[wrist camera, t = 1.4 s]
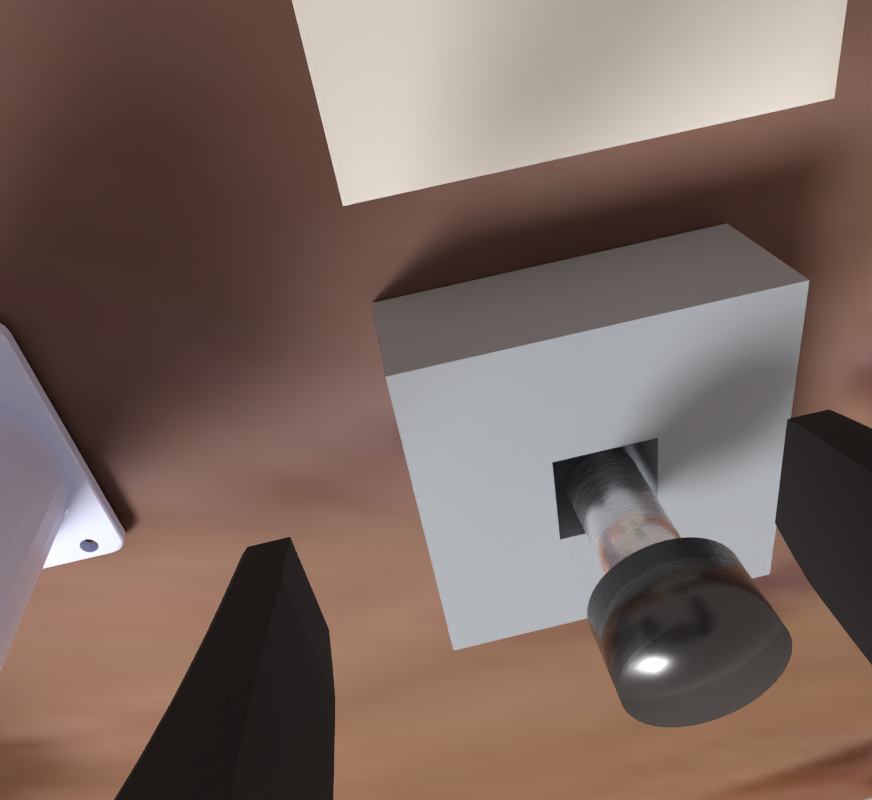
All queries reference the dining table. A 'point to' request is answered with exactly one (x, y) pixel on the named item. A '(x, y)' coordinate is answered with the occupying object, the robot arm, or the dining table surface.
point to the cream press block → (546, 78)
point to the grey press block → (591, 412)
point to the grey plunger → (670, 604)
